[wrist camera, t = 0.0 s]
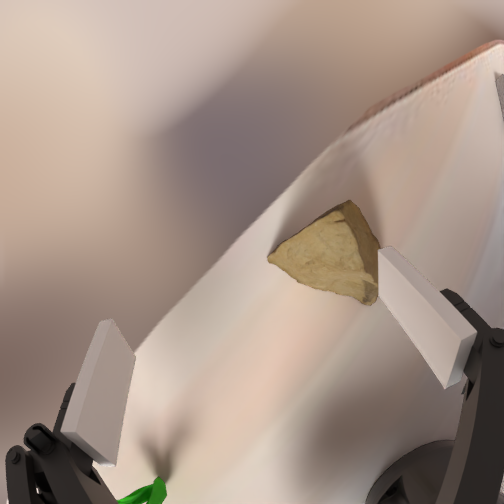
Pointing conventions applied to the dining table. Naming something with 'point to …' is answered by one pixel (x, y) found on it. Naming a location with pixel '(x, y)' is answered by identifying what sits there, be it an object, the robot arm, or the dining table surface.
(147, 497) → the flower
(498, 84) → the gray base set
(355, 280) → the rock
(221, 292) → the dining table surface
